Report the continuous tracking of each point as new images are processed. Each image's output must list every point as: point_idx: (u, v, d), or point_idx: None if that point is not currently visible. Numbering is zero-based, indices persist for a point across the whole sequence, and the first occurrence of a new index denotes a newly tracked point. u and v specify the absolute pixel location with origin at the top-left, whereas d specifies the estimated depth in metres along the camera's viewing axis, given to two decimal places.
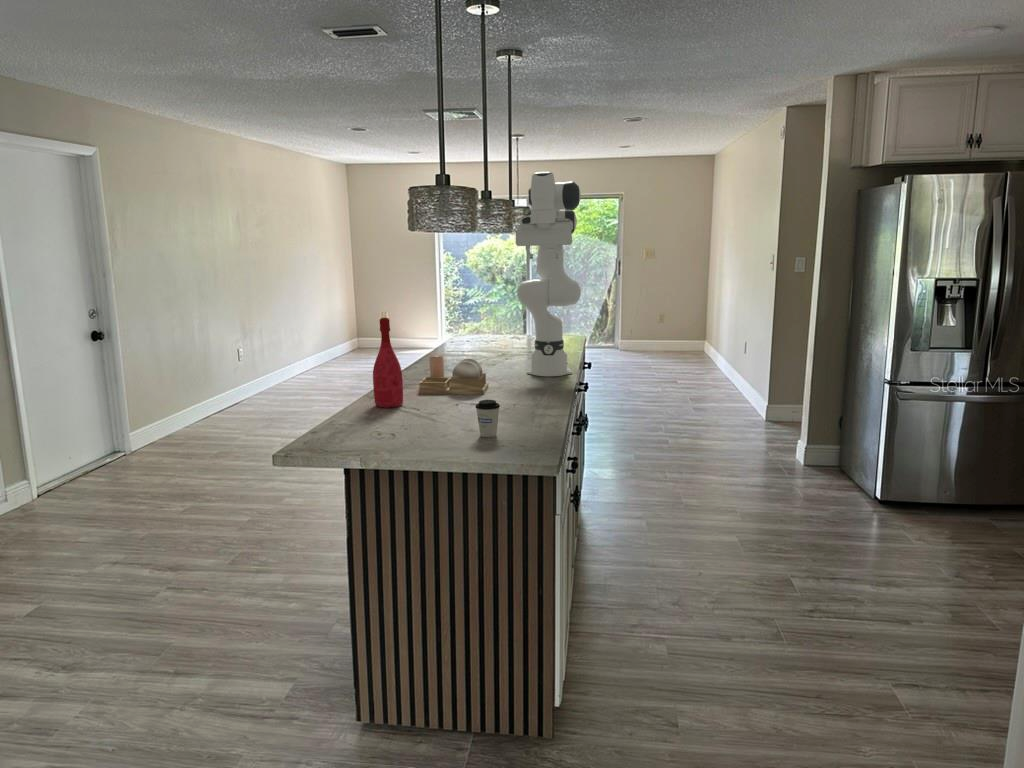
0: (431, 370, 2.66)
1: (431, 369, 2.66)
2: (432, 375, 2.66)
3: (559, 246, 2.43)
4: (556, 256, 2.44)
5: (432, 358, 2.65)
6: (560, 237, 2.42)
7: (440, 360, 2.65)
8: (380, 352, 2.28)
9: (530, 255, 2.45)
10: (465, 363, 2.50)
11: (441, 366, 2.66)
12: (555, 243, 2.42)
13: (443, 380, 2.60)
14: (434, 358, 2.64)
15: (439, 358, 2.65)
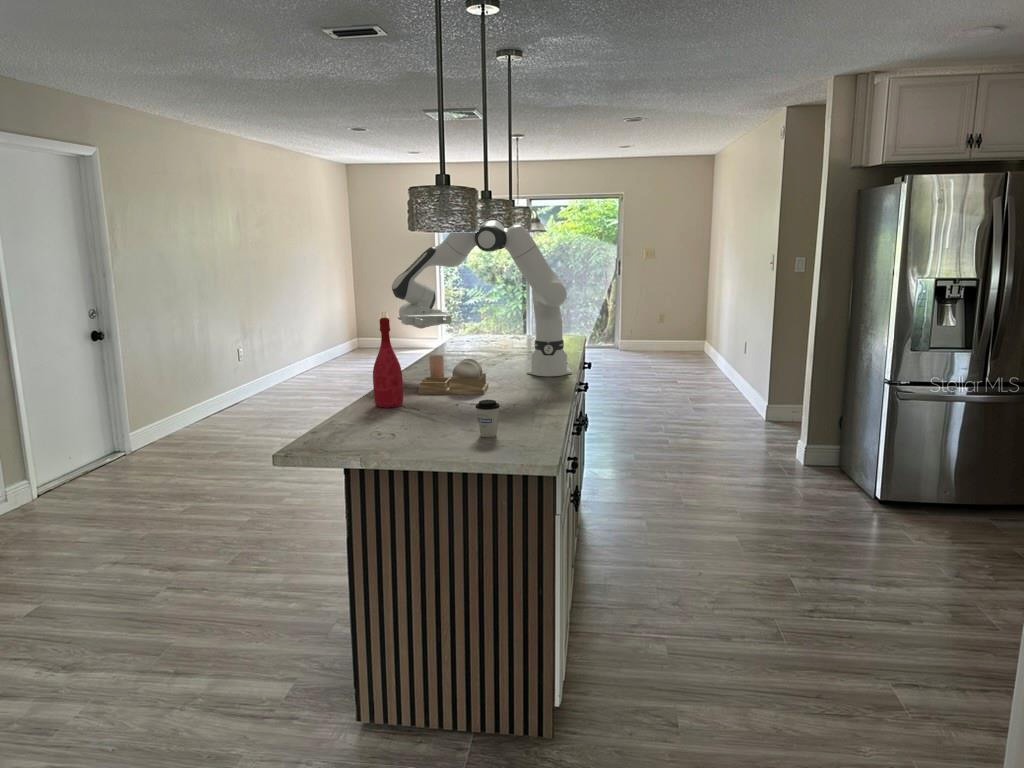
0: (431, 370, 2.66)
1: (431, 369, 2.66)
2: (432, 375, 2.66)
3: None
4: (422, 323, 2.66)
5: (432, 358, 2.65)
6: None
7: (440, 360, 2.65)
8: (380, 352, 2.28)
9: (444, 323, 2.71)
10: (465, 363, 2.50)
11: (441, 366, 2.66)
12: (418, 324, 2.70)
13: (443, 380, 2.60)
14: (434, 358, 2.64)
15: (439, 358, 2.65)
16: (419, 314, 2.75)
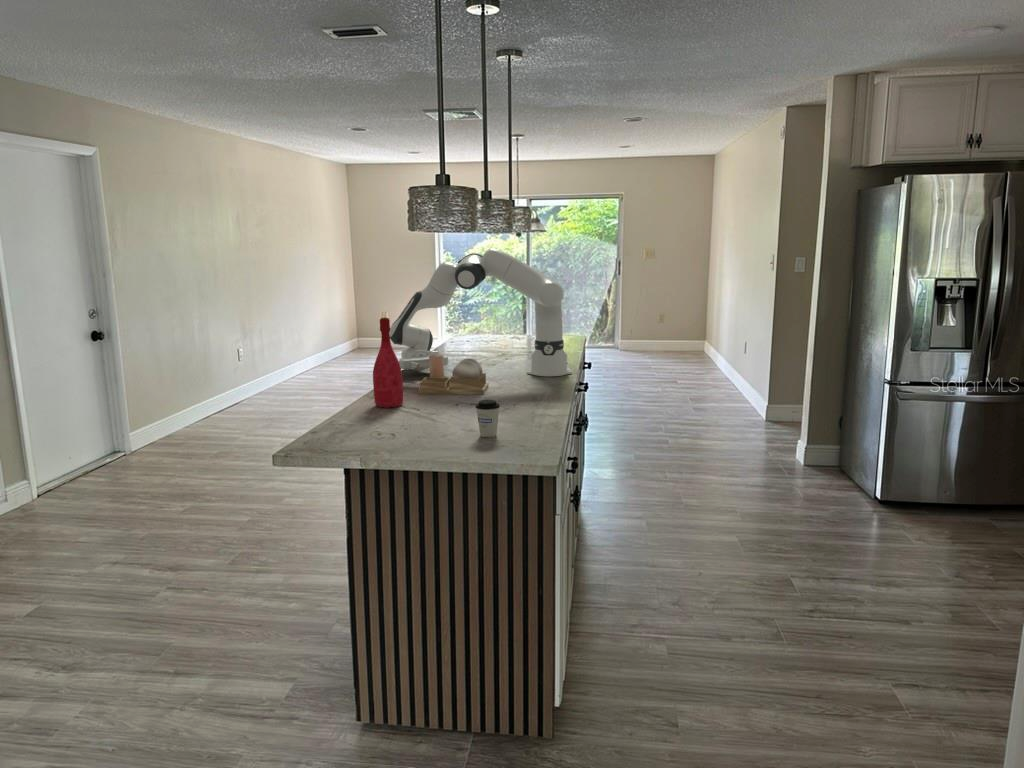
0: (431, 370, 2.66)
1: (431, 369, 2.66)
2: (432, 375, 2.66)
3: None
4: (418, 367, 2.76)
5: (432, 358, 2.65)
6: None
7: (440, 360, 2.65)
8: (380, 352, 2.28)
9: None
10: (465, 363, 2.50)
11: (441, 366, 2.66)
12: None
13: (443, 380, 2.60)
14: (434, 358, 2.64)
15: (439, 358, 2.65)
16: (417, 357, 2.85)
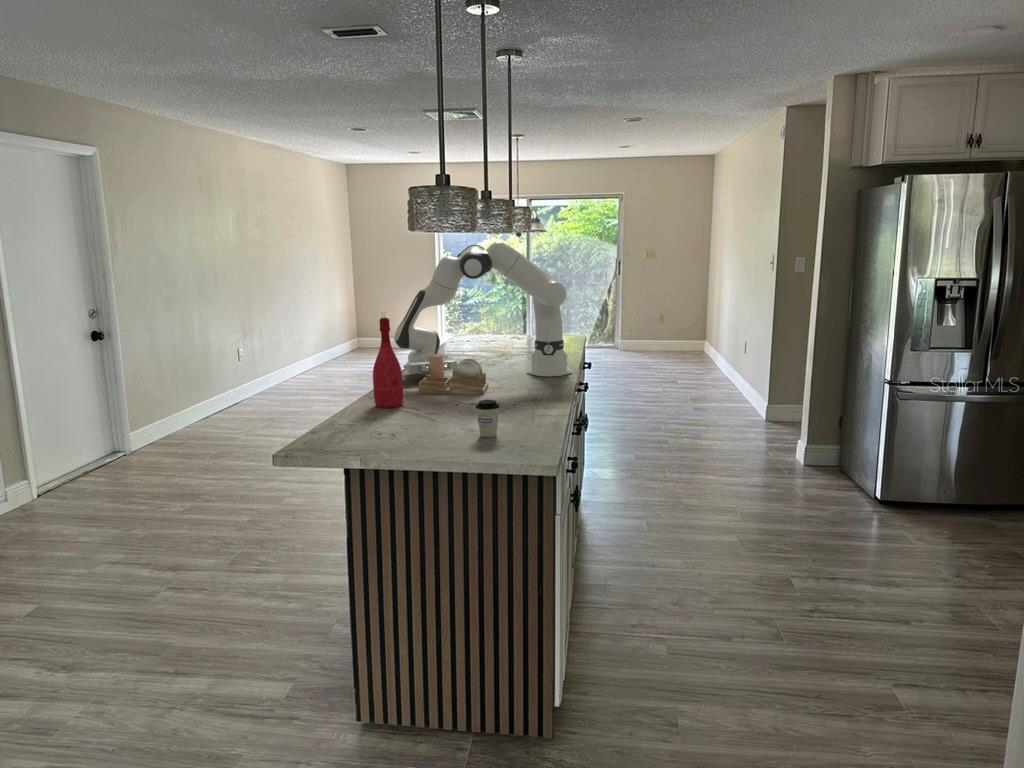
0: (431, 370, 2.66)
1: (431, 369, 2.66)
2: (432, 375, 2.66)
3: None
4: (429, 371, 2.67)
5: (432, 358, 2.65)
6: None
7: (440, 360, 2.65)
8: (380, 352, 2.28)
9: None
10: (465, 363, 2.50)
11: (441, 366, 2.66)
12: (423, 372, 2.70)
13: (443, 380, 2.60)
14: (434, 358, 2.64)
15: (439, 358, 2.65)
16: (424, 361, 2.75)
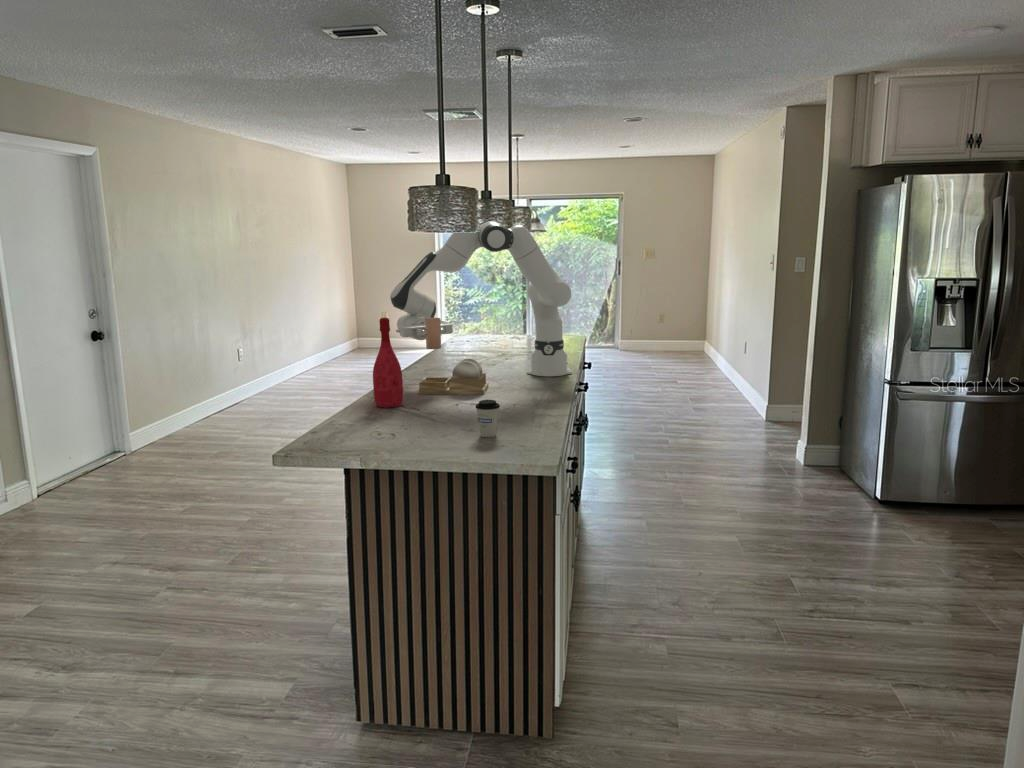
0: (428, 333, 2.50)
1: (428, 332, 2.50)
2: (429, 338, 2.51)
3: (419, 334, 2.53)
4: (425, 334, 2.51)
5: (429, 320, 2.49)
6: None
7: (437, 322, 2.50)
8: (380, 352, 2.28)
9: None
10: (465, 363, 2.50)
11: (438, 329, 2.51)
12: (418, 336, 2.54)
13: (443, 380, 2.60)
14: (431, 320, 2.49)
15: (436, 320, 2.50)
16: (418, 325, 2.59)
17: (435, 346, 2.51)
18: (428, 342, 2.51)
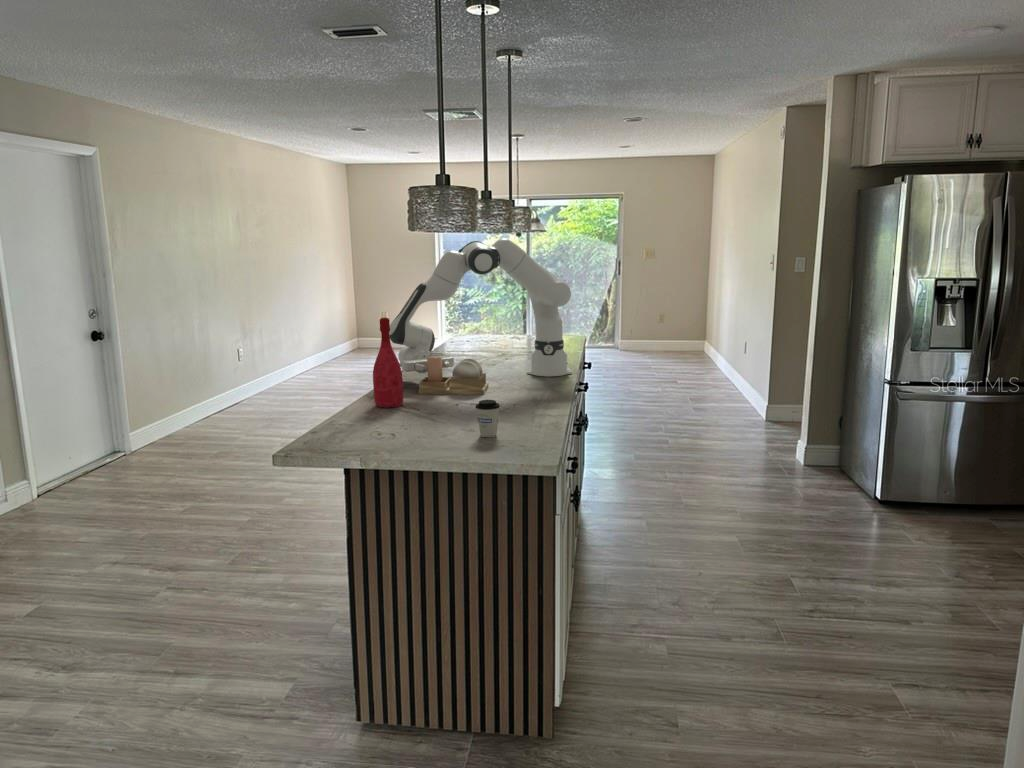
0: (429, 372, 2.53)
1: (429, 371, 2.53)
2: (430, 377, 2.53)
3: None
4: (424, 369, 2.53)
5: (431, 360, 2.52)
6: None
7: (439, 362, 2.53)
8: (380, 352, 2.28)
9: None
10: (465, 363, 2.50)
11: (440, 368, 2.53)
12: (420, 370, 2.57)
13: (443, 380, 2.60)
14: (433, 360, 2.52)
15: (438, 359, 2.52)
16: (420, 359, 2.61)
17: None
18: (429, 381, 2.54)
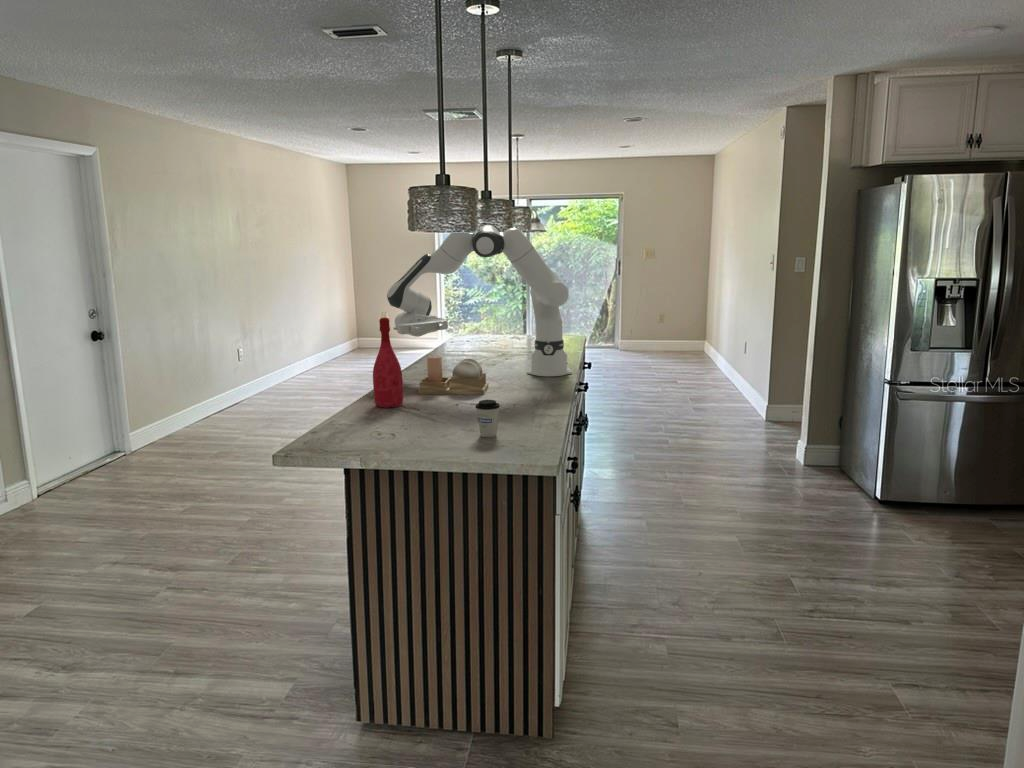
0: (429, 372, 2.53)
1: (429, 371, 2.53)
2: (430, 377, 2.53)
3: (412, 331, 2.64)
4: (418, 331, 2.61)
5: (431, 360, 2.52)
6: None
7: (439, 362, 2.53)
8: (380, 352, 2.28)
9: (440, 329, 2.66)
10: (465, 363, 2.50)
11: (440, 368, 2.53)
12: (415, 333, 2.66)
13: (443, 380, 2.60)
14: (433, 360, 2.52)
15: (438, 359, 2.52)
16: (415, 322, 2.70)
17: None
18: (429, 381, 2.54)
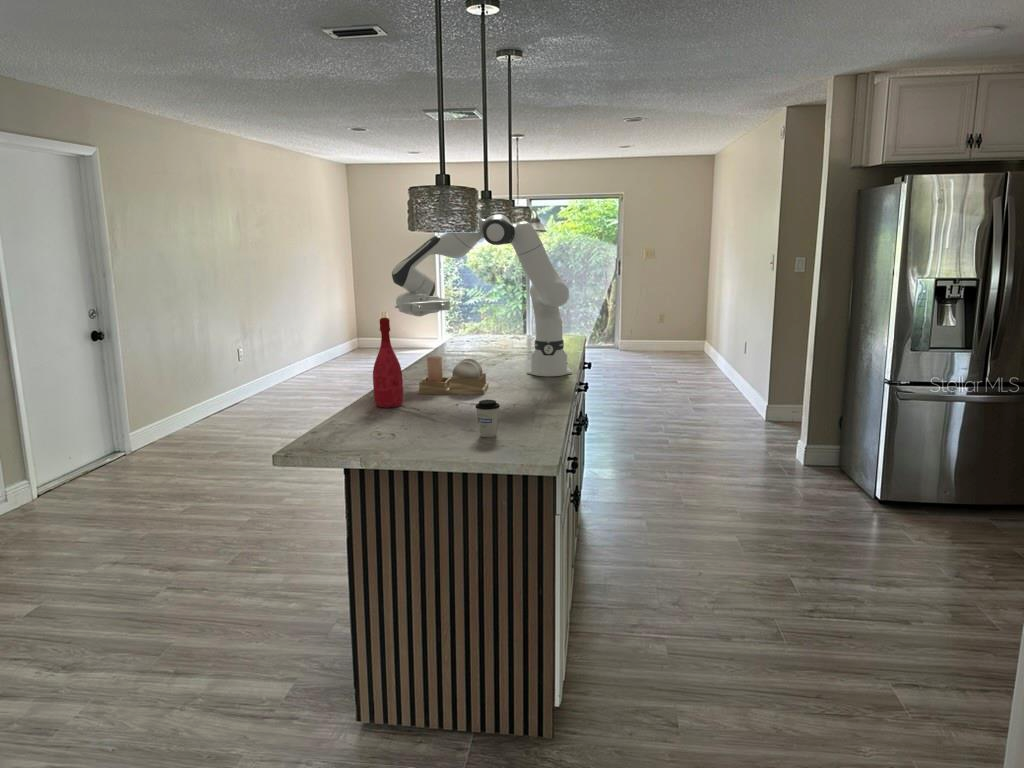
0: (429, 372, 2.53)
1: (429, 371, 2.53)
2: (430, 377, 2.53)
3: None
4: (420, 310, 2.60)
5: (431, 360, 2.52)
6: None
7: (439, 362, 2.53)
8: (380, 352, 2.28)
9: (442, 308, 2.65)
10: (465, 363, 2.50)
11: (440, 368, 2.53)
12: (416, 311, 2.64)
13: (443, 380, 2.60)
14: (433, 360, 2.52)
15: (438, 359, 2.52)
16: (416, 301, 2.69)
17: None
18: (429, 381, 2.54)
